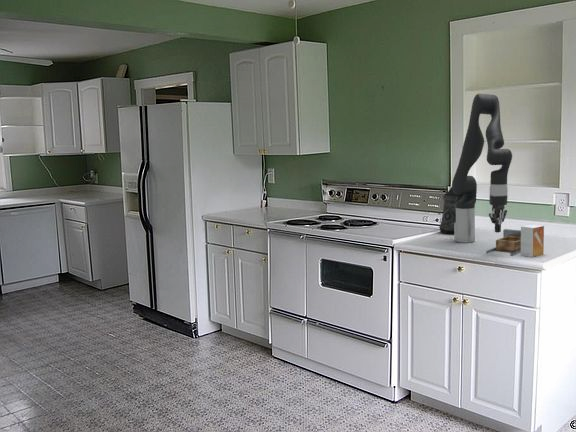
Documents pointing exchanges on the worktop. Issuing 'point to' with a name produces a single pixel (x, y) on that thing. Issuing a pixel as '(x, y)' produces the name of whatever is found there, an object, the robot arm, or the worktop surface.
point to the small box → (532, 240)
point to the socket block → (508, 244)
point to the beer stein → (449, 212)
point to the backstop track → (509, 233)
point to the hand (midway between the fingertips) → (497, 232)
